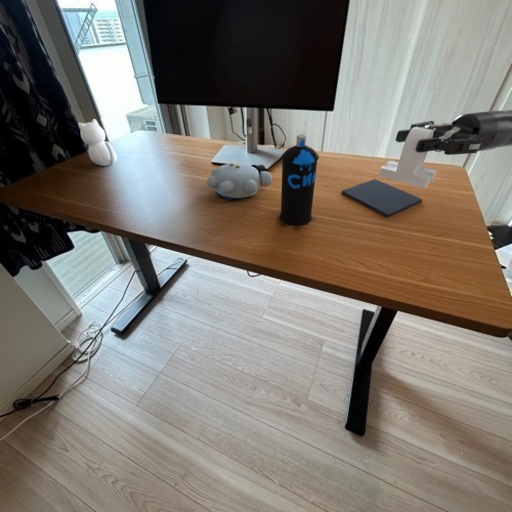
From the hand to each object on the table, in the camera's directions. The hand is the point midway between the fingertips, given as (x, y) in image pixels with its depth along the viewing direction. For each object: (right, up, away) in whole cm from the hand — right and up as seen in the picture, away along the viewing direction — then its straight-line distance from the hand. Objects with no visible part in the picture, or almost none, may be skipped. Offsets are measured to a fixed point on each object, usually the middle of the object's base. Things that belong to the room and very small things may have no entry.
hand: (407, 141), depth 53 cm
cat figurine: (-87, +13, +50) cm, 101 cm away
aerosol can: (-20, -13, +16) cm, 29 cm away
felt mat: (+5, -6, +23) cm, 24 cm away
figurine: (-34, -2, +30) cm, 46 cm away
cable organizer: (+3, -6, +6) cm, 9 cm away
